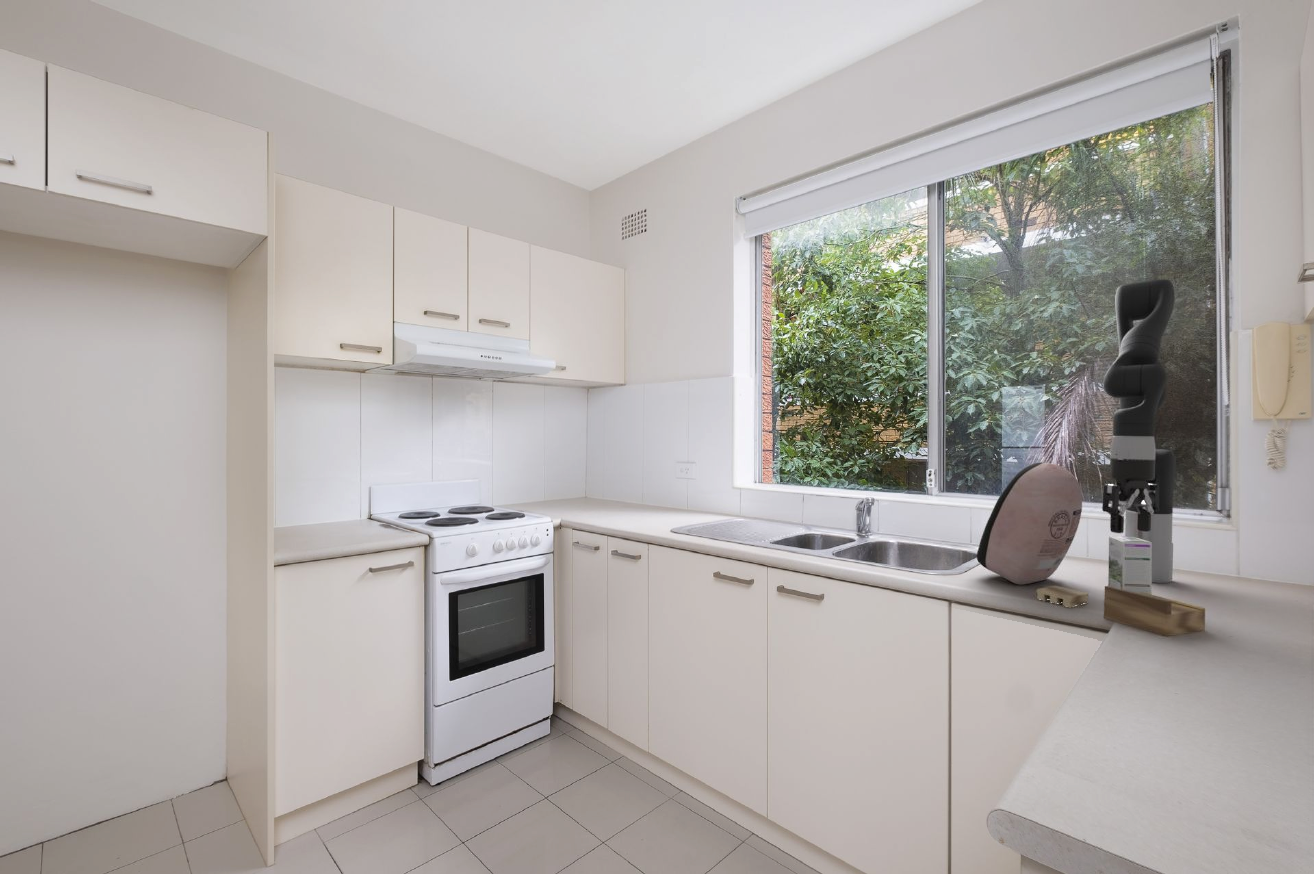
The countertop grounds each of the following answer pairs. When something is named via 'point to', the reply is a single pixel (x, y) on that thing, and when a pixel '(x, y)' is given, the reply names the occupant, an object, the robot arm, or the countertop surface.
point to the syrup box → (1130, 564)
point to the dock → (1152, 612)
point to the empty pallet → (1062, 596)
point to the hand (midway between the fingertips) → (1130, 531)
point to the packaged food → (1032, 524)
